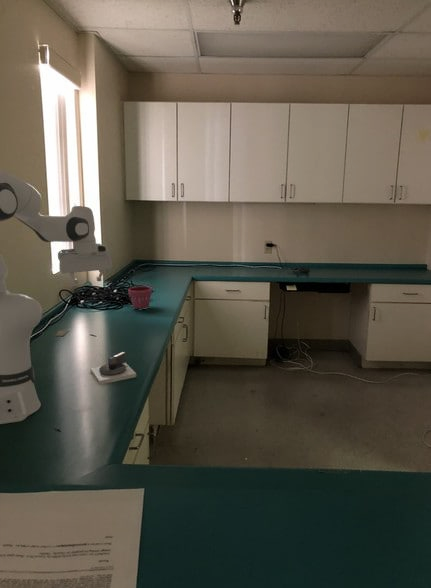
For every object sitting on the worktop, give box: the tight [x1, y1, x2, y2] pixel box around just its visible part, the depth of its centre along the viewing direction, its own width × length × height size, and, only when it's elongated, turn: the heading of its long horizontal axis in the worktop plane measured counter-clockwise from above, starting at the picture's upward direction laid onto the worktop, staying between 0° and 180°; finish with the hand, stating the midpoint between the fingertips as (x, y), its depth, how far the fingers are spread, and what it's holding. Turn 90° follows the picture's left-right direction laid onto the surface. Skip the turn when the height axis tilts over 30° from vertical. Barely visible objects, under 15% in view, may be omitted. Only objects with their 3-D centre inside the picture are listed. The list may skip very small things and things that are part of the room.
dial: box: [99, 351, 127, 375], centre depth 173 cm, size 12×10×5 cm
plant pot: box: [127, 285, 153, 309], centre depth 273 cm, size 14×14×13 cm
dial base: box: [90, 362, 137, 385], centre depth 173 cm, size 14×14×2 cm
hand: (87, 282), depth 179 cm, fingers open, 8 cm apart
